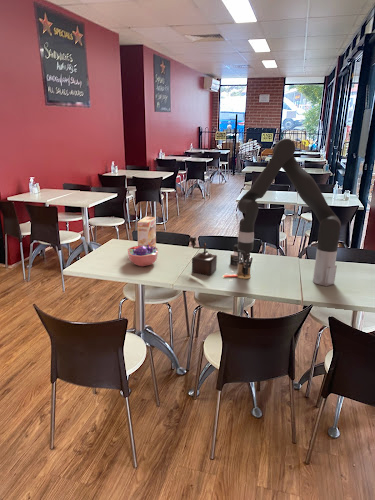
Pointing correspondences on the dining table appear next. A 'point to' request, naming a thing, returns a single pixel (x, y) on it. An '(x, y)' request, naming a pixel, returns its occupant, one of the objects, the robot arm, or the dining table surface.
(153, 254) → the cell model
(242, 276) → the brown block with rod
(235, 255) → the medicine bottle
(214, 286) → the dining table surface
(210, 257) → the pepper mill
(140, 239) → the coffeecake box
